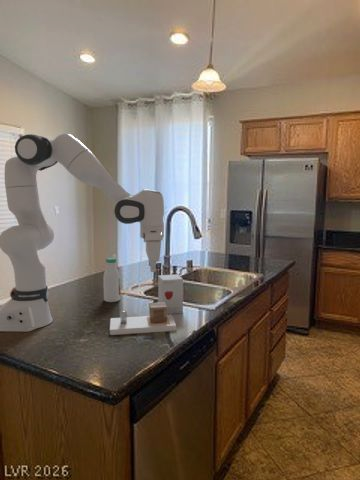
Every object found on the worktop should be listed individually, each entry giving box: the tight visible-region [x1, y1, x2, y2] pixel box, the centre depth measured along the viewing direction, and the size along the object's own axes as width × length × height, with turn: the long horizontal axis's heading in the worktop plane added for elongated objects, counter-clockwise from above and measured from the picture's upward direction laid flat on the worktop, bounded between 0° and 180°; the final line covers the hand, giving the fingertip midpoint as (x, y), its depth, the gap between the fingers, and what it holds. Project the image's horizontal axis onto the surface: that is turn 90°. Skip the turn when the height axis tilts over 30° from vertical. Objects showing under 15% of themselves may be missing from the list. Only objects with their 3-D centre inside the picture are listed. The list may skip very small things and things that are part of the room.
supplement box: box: [157, 274, 184, 315], centre depth 157 cm, size 9×9×15 cm
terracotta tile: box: [147, 317, 170, 325], centre depth 141 cm, size 8×8×1 cm
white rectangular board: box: [109, 314, 177, 336], centre depth 140 cm, size 24×12×2 cm, turn 99°
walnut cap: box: [148, 302, 168, 323], centre depth 140 cm, size 6×6×6 cm
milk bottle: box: [102, 257, 122, 303], centre depth 173 cm, size 8×8×20 cm
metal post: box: [119, 309, 128, 324], centre depth 138 cm, size 2×2×4 cm
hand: (151, 268), depth 140 cm, fingers open, 8 cm apart
